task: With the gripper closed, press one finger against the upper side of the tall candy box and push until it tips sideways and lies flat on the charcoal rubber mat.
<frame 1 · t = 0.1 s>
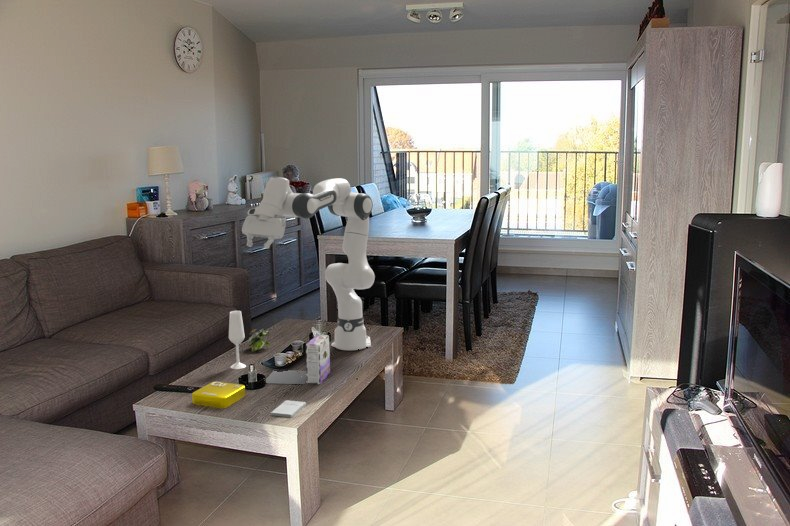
hand: (257, 247, 271), 54 cm above the table, tool tilted 30°, fingers open, 8 cm apart
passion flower: (260, 349, 324), on the table
mat: (288, 377, 284), on the table
champagne flute: (238, 366, 299), on the table
candy box: (318, 379, 282), on the table
external hard drive: (288, 411, 250), on the table
element tile: (219, 400, 261), on the table
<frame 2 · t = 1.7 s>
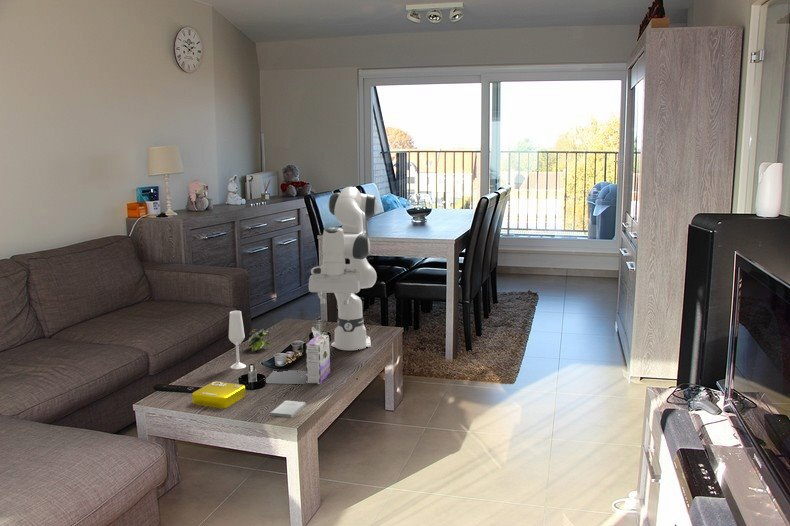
hand: (334, 303, 274), 32 cm above the table, tool pointing down, fingers open, 8 cm apart
nothing on the table moved.
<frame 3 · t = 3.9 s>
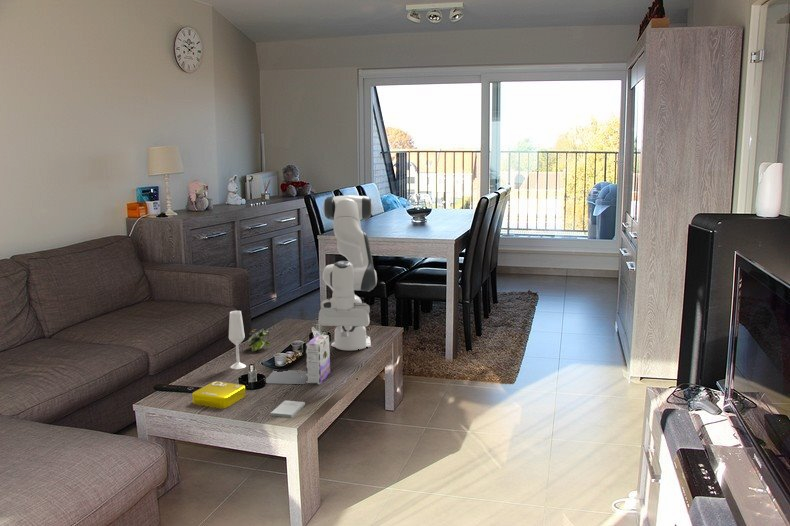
hand: (344, 336, 278), 18 cm above the table, tool pointing down, fingers closed
nothing on the table moved.
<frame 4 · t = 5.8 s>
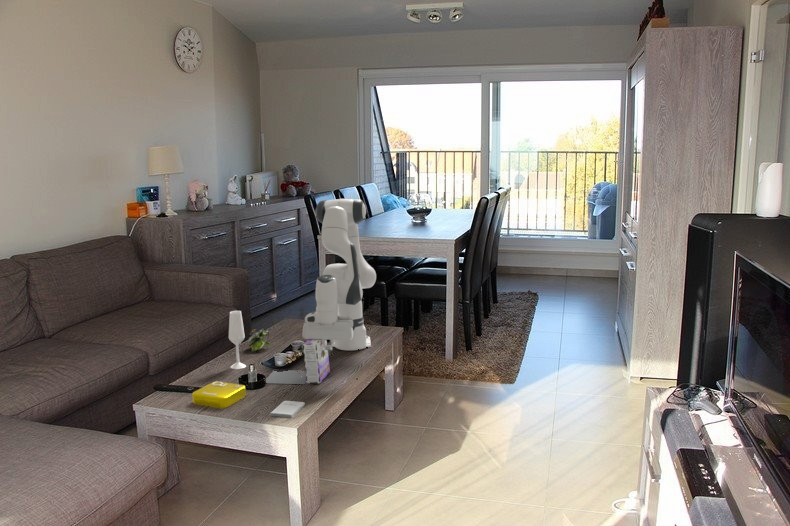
hand: (328, 349, 280), 12 cm above the table, tool pointing down, fingers closed
candy box: (318, 378, 282), on the table, touching gripper
everything else where it was.
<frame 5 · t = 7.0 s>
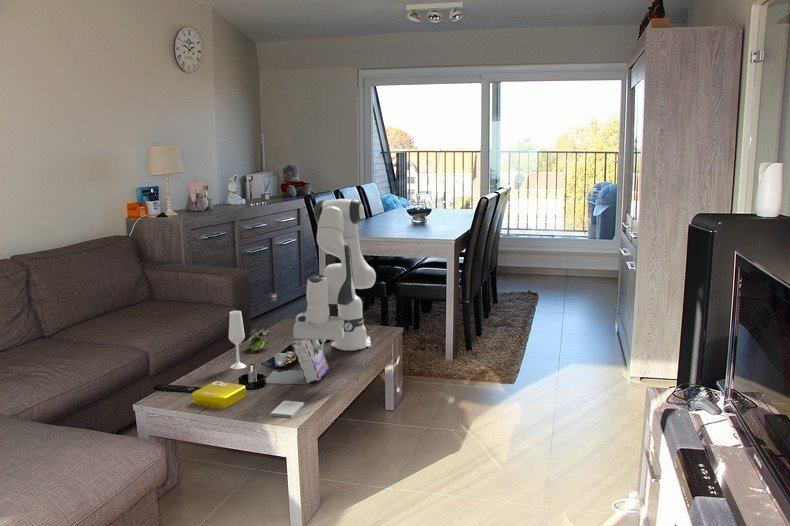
hand: (319, 349, 280), 12 cm above the table, tool pointing down, fingers closed
candy box: (318, 376, 282), point 1 cm above the table
everything else where it was.
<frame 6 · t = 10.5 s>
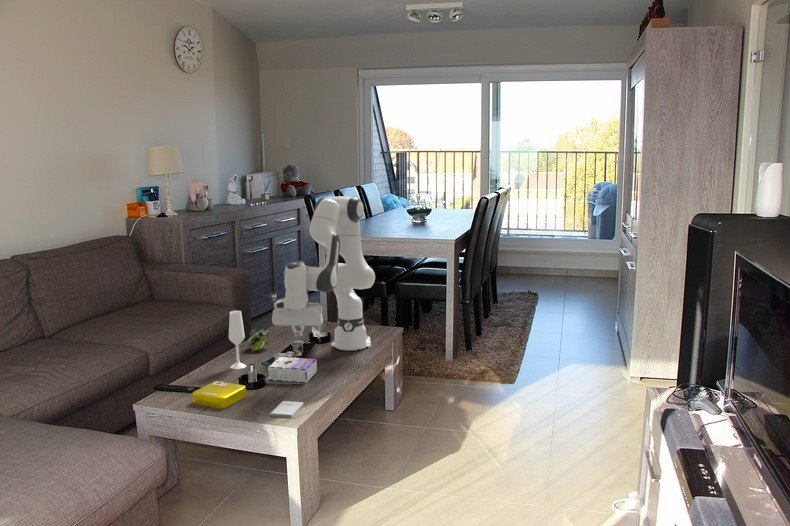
hand: (298, 335, 280), 18 cm above the table, tool pointing down, fingers closed
candy box: (312, 370, 282), point 3 cm above the table, touching mat
everything else where it was.
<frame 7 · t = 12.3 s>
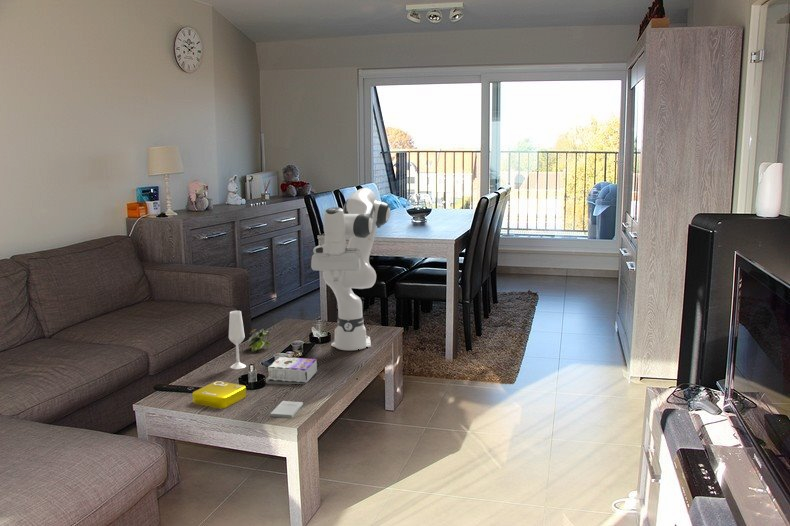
hand: (336, 281, 287), 38 cm above the table, tool pointing down, fingers closed
nothing on the table moved.
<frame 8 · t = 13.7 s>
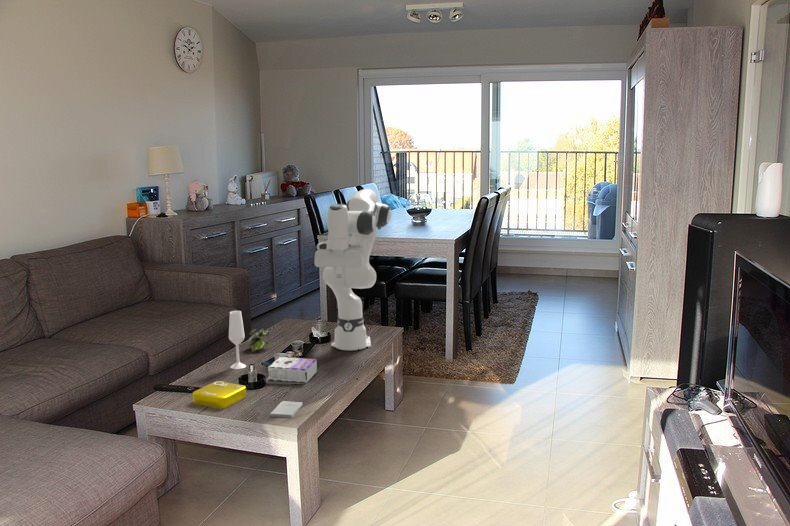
hand: (339, 277, 287), 39 cm above the table, tool pointing down, fingers closed
nothing on the table moved.
at the end: candy box tilted 89°; candy box inside the target area (1.5 cm from its centre), point 3.1 cm above the table; candy box touching mat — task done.
